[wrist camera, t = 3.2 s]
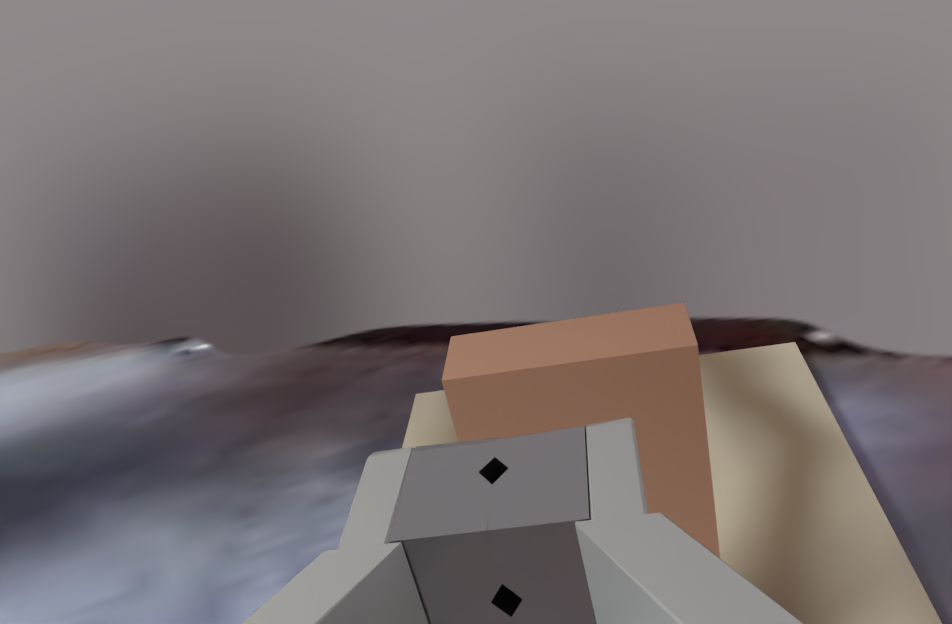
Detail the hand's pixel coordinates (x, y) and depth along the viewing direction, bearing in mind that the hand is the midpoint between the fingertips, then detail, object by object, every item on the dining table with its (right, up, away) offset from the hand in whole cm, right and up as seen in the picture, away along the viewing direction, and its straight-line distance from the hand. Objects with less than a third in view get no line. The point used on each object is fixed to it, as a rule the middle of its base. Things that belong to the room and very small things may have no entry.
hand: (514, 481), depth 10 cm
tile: (+5, -11, +20) cm, 24 cm away
